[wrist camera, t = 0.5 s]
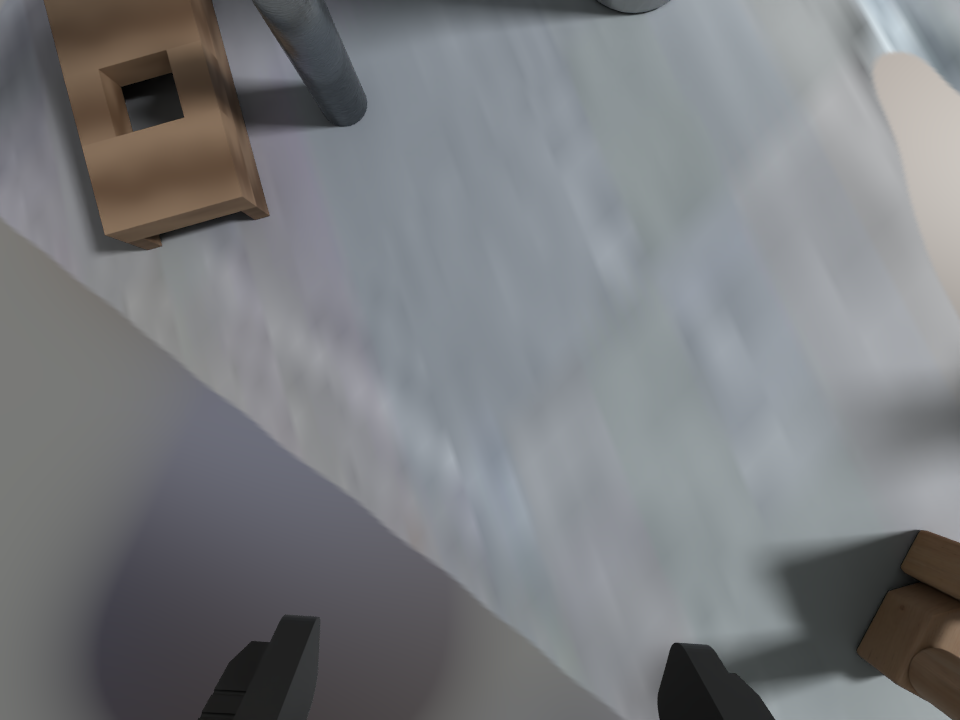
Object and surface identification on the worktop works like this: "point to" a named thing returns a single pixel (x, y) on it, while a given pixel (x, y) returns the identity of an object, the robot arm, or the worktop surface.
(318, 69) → the long pin
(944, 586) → the wooden block
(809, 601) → the worktop surface
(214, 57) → the plate
